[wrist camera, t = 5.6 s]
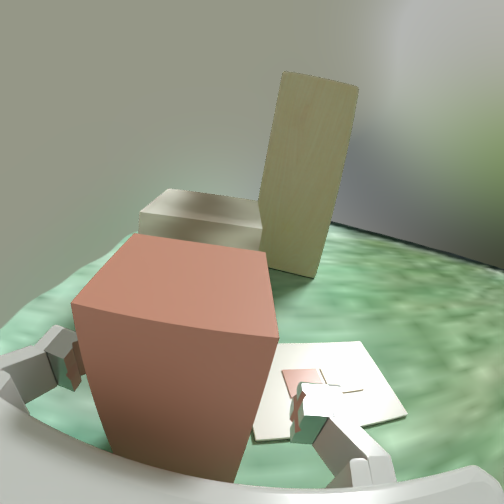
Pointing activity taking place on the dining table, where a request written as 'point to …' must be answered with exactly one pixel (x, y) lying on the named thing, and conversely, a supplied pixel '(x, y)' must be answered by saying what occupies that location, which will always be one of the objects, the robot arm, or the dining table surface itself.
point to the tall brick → (178, 351)
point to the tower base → (203, 219)
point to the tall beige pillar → (304, 169)
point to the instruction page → (325, 372)
